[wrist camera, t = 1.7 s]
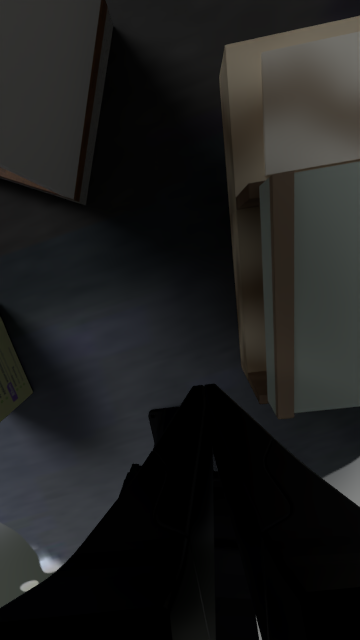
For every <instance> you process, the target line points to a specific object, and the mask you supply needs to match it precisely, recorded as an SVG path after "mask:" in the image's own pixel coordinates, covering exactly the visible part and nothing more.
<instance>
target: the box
mask: <svg viewBox="0 0 360 640" xmlns="http://www.w3.org/2000/svg"><path fill="white" fill-rule="evenodd" d="M32 393H33V391H32V389H31V386H30V384H29V382H28V380H27V378H26V375H25V373H24V371H23V368H22V366H21V364H20V361H19V359H18V357H17V355H16V352H15V350H14V347H13V345H12V343H11V340H10V338H9V336H8V333H7V331H6V328H5V326H4V323H3V321H2V319H1V316H0V422H1V421H2V420H3V419H4V418H5V417H7V416H8V415H9V414H10V413H11V412H12V411H13V410H14V409H16V408H17V407H18V406H19V405H20V404H21V403H22V402H23V401H25V400H26V399H27V398H28V397H29V396H30V395H31V394H32Z"/></svg>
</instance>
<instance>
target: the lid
mask: <svg viewBox="0 0 360 640" xmlns="http://www.w3.org/2000/svg"><path fill="white" fill-rule="evenodd" d="M259 192H260V217H261V242H262V267H263V292H264V317H265V342H266V368H267V393H268V402H269V404H270V405H271V407H272V409H273V411H274V412H275V414H276V416H277V418H278V419H287V418H294V413H300V412H310V411H320V410H329V409H339V408H348V407H358V406H360V161H359V162H353V163H348V164H342V165H336V166H330V167H325V168H319V169H313V170H308V171H302V172H296V173H294V171H288V172H283V173H277V174H272V175H271V176H270V177H269V178H268V179H267V180H266V181H265V182H263V183H262V184H261V185H260V186H259Z"/></svg>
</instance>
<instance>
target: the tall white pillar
mask: <svg viewBox="0 0 360 640" xmlns="http://www.w3.org/2000/svg"><path fill="white" fill-rule="evenodd" d="M112 32H113V23H112V20H111V17H110V14H109V10H108V7H107V4H106V1H105V0H0V178H1V179H4V180H7V181H10V182H14V183H17V184H20V185H23V186H26V187H29V188H32V189H36V190H39V191H42V192H45V193H48V194H51V195H54V196H58V197H61V198H64V199H67V200H70V201H73V202H76V203H80V204H83V205H86V201H87V194H88V188H89V181H90V175H91V168H92V162H93V155H94V149H95V142H96V136H97V129H98V123H99V116H100V110H101V103H102V97H103V90H104V84H105V77H106V71H107V64H108V58H109V51H110V45H111V38H112Z"/></svg>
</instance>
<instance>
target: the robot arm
mask: <svg viewBox="0 0 360 640" xmlns="http://www.w3.org/2000/svg"><path fill="white" fill-rule="evenodd" d="M204 389H205V390H204ZM206 404H207V405H206ZM152 414H154V415H152ZM148 417H149V421H150V425H151V430H152V434H153V438H154V448H153V451H151V453H150V454H149V456H148V457H147V459H146V461H145V462H144V464H143V465H142V466H140V465H139V464H132V467H131V469H130V472H128V473H127V476H126V479H125V480H124V483H123V487H122V490H121V492H120V495H119V498H118V499H117V500H116V502H115V503H114V504H113V505H112V507H111V508H110V509H109V511H108V512H107V513H106V514H105V516H104V517H103V518H102V519H101V521H100V522H99V523H98V524H97V526H96V527H95V528H94V530H93V531H92V532H91V533H90V535H89V536H88V537H87V538H86V540H85V541H84V542H83V543H82V545H81V546H80V547H79V548H78V549H77V551H76V552H75V553H74V554H73V555H72V556H71V557H70V558H69V559H68V560H67V562H66V563H65V564H64V565H62V566H61V567H60V568H59V569H58V570H57V571H56V572H55V573H54V574H52V575H51V576H50V577H48V578H47V579H46V580H44V581H43V582H41V583H40V584H38V585H37V586H35V587H33V588H32V589H30V590H28V591H27V592H25V593H24V594H22V595H20V596H19V597H17V598H16V599H14V600H12V601H11V602H9V603H8V604H6V605H4V606H3V607H1V608H0V640H259V636H258V629H257V622H258V626H259V629H260V633H261V637H262V640H360V507H359V506H358V505H356V504H355V503H354V502H352V501H351V500H350V499H348V498H347V497H346V496H344V495H343V494H342V493H340V492H339V491H338V490H337V489H335V488H334V487H333V486H331V485H330V484H329V483H327V482H326V481H325V480H323V479H322V478H321V477H319V476H318V475H317V474H316V473H314V472H313V471H312V470H311V469H309V468H308V467H307V466H306V465H304V464H303V463H302V462H301V461H299V460H298V459H297V458H296V457H295V456H294V455H293V454H291V453H290V452H289V451H288V450H287V449H286V448H285V447H283V446H282V445H281V444H280V443H279V442H278V441H277V440H276V439H274V438H273V437H272V436H271V435H270V434H269V433H268V432H267V431H266V430H265V429H264V428H263V427H262V426H260V425H259V424H258V423H257V422H256V421H255V420H254V419H253V418H252V417H251V416H250V415H249V414H247V413H246V412H245V411H244V410H243V409H242V408H241V407H240V406H239V405H238V404H237V403H235V402H234V401H233V400H232V399H231V398H230V397H229V396H228V395H227V394H226V393H225V392H224V391H222V390H221V389H220V388H219V387H218V386H217V385H216V384H206V385H205V386H203V385H198V386H193V387H192V388H191V390H190V391H189V393H188V394H187V396H186V398H185V399H184V401H183V402H182V404H181V406H180V407H172V408H163V409H154V410H151V411H150V412H149V415H148ZM213 454H214V456H215V460H216V464H217V468H218V471H214V470H213ZM256 618H257V622H256Z"/></svg>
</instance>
